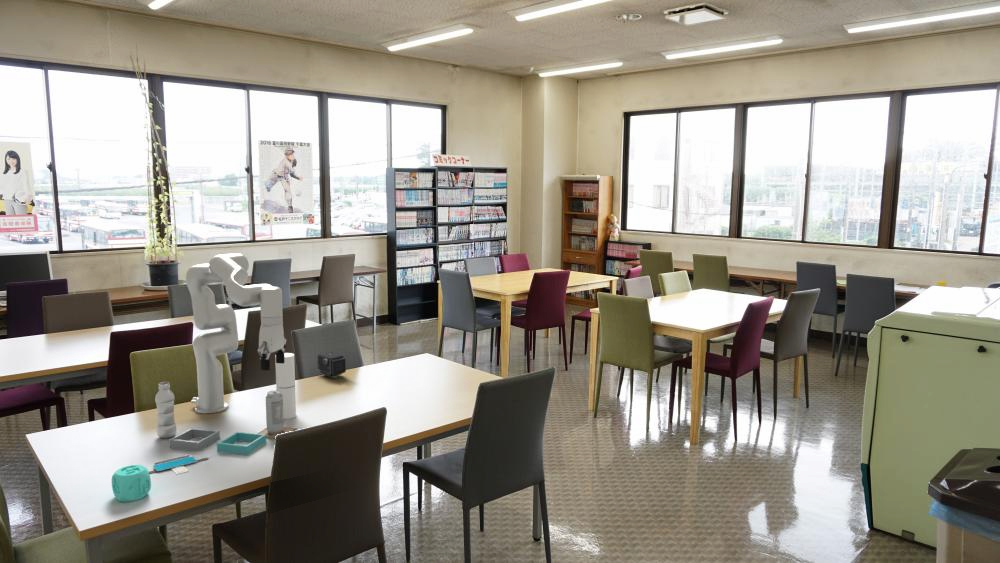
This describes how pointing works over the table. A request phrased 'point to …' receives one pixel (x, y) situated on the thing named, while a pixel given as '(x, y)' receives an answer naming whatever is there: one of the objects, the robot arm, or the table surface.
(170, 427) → the plastic bottle
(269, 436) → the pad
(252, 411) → the table surface
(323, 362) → the camera
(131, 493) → the decorative dice
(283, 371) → the cylindrical container
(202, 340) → the robot arm
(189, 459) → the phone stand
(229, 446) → the teal flat square frame
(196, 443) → the grey crate
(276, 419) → the energy drink can
